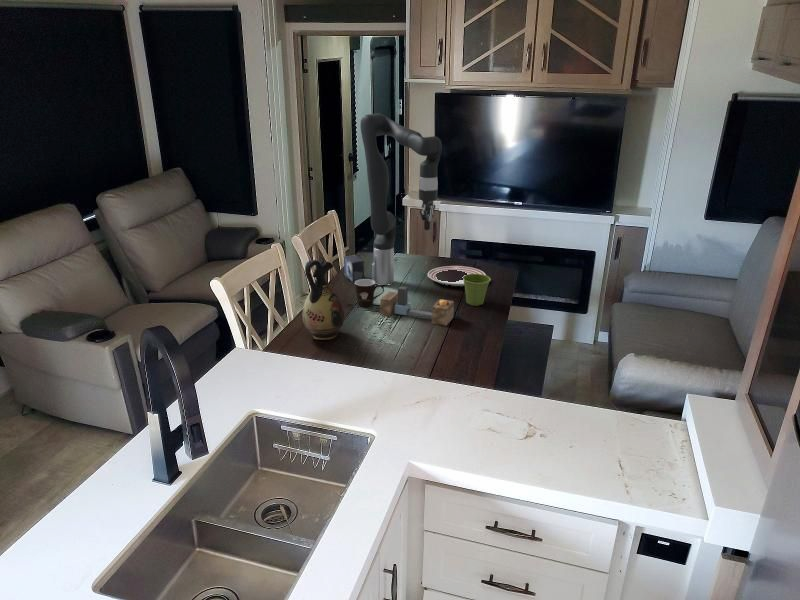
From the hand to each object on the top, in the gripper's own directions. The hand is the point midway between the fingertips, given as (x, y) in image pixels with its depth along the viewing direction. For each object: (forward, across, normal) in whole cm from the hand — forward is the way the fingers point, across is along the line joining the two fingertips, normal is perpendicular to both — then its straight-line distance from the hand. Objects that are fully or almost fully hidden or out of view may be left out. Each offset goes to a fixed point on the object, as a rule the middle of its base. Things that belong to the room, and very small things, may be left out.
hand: (427, 229), depth 244 cm
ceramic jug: (+31, +50, -23) cm, 63 cm away
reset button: (+26, +19, +14) cm, 35 cm away
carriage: (+31, +19, -3) cm, 36 cm away
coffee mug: (+31, +16, -20) cm, 40 cm away
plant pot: (+31, -4, +21) cm, 38 cm away
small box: (+31, -11, -40) cm, 52 cm away
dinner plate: (+31, -29, +5) cm, 43 cm away
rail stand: (+31, +19, +3) cm, 36 cm away
